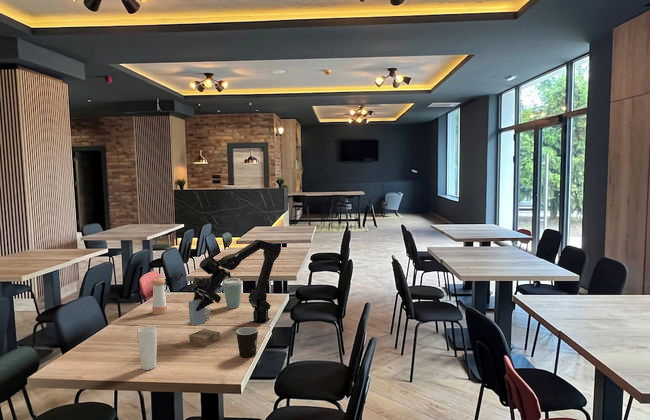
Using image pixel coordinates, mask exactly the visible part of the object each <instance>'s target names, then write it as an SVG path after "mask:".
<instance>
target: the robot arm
mask: <svg viewBox="0 0 650 420" xmlns="http://www.w3.org/2000/svg"><path fill="white" fill-rule="evenodd" d="M259 250H262V251H263V263H262V267H261V269H260V273H259V277H258V280H257V283H256V286H255V288H254V289H251V290H250V292H249V295H248V302H249V305H251V307H252V308H253V312H252V315H253V318H252V319H253V321H252V322H253V323H260V324H261V323H262V324H266V323H267V322H268V321H270V319H271V318H270V317H269V310H270V309H271V306H272V305H271V304H270V303H269V302H268V301H267V297H268V295H267V288H268V287H267V286H268V283H269V279H270V276H271V274H272V270H273V266H274V262H276V260H277V259H278V258H279V256H280V254H281V251H282V247H281V245H280V244H279V243H276V242H266V241H264V240H263V239H255V240H254V241H253V242H250V244H247V245H246V246H245V247H243V248H241V249H240V250H237V252H235V253H230V254H227V255H224V256H222V257H221V258H220V259H218V260H216V259H214V256H212V255H210V254H209V255H208V256H207V257H204V259H201V261H200V263H199V265H198V267H199V268H200V269H201V270H203V271H204V272H206V274H208V275H210V277H202V278H199V277H196V276H194V278H193V280H192V286H191V287H190V288H191V290H192V291H193V294H194V296H193V299H192V300H197V299H200V300H201V302H200V303H199V305H198V307H197V308H196V311H199V310H201V309H203V308H205V307H206V306H210V305H212V304H215V303H217V304H219V303H220V302H221V300H222V297H221V296H220V295H219V294H218V293H217V292H216V291H217V290H218V289H221V285H222V283H223V281H224V280H226V279H229V278H232V275H231V271H233V270H235V269H236V268H238V266H240V264H241V262H242V261H243V260H245V259H247V258H248V257H250V256H252V255H253V254H254V253H256V252H258V251H259ZM227 270H229V271H227Z"/></svg>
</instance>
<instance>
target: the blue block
mask: <svg viewBox="0 0 650 420" xmlns="http://www.w3.org/2000/svg"><path fill="white" fill-rule="evenodd" d="M200 302H201V300H200V299H197V300H193V299H192V300H189V301H188V316H189V317H188V318H189V324H190V325H192V326H193V327H197V326H201V325H204V324H206V319H205V308H203V309H201V310H199V311H196V308H197V307H198V305H199V303H200Z"/></svg>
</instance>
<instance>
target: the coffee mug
mask: <svg viewBox="0 0 650 420" xmlns="http://www.w3.org/2000/svg"><path fill="white" fill-rule="evenodd" d="M235 331H236V332H235V334H236V340H237V347H238V353H239V357H240V358H242V359H252V358H254V357H256V355H257V346H258V335H259V329H258V328H257V327H253V326H246V327H239V329H237V330H235Z"/></svg>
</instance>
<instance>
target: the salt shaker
mask: <svg viewBox="0 0 650 420" xmlns="http://www.w3.org/2000/svg"><path fill="white" fill-rule="evenodd" d="M150 283H151V285H152V289H153V290H152V294H153V295H152V308H151V310H152V314H153V315H162V314H165V313H167V312H168V305H167V297H166V293H165V283H166V279H165V278H164V277H160V276H156V278H154V279H152V280H151V282H150Z"/></svg>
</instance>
